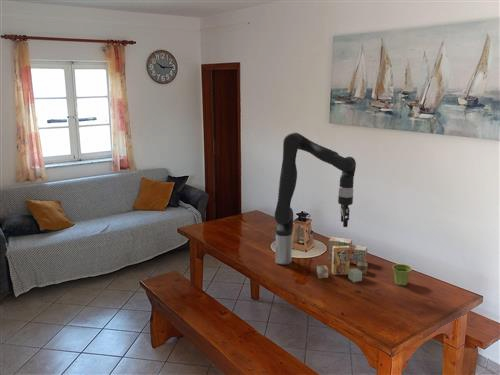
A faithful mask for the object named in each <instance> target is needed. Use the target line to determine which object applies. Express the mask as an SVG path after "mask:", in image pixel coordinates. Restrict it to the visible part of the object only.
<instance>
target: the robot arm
mask: <svg viewBox="0 0 500 375" xmlns="http://www.w3.org/2000/svg"><path fill="white" fill-rule="evenodd" d="M282 145H283V146H282V162H281V170H280V176H279V183H278V184H279V185H278V197H277V202H276V208H275V212H274V219H275V222H276V223H277V224H276V229H275V261H274V262H275V264H279V265H289V264H291V263H292V256H293V254H292V252H293V251H292V250H293V249H292V248H293V247H292V245H293V244H292V242H293V228H294V211H293V209H292V207H291V203H292V199H293V196H294V193H295V190H296V186H297V179H298V170H297V169H298V168H297V164H296V162H297V161H296V159H297V155H298V154H297V153H298V150H300V151H304V152H307V153H309V154H310V155H312V156H314V157H315V158H317V159H318V160H319V161H322V162H323V163H327V164H329V165H332V166H333V167H334V168H336V169H338V170H340V171H341V174H340V177H339V188H338V196H337V197H338V198H337V202H338V203H337V204H339V205H340V210H339V211H340V222H342V227H343V228H348V225H349V224H348V222H349V220H350V206H351V205H353V202H354V178H355V173H356V168H357V167H356V166H357V162H356V159H355V158H354V157H353V156H347V157H346V156H345V157H343V156H342V155H340V154H339V153H338V152H337V151H334V150H332V149H329V148H327V147H325V146H323V145H321V144H318V143H315V142H313V141H312V140H311V139H309V138H307V137H306V136H303V134H300V133H298V132H292V133H288V134H287V135H285V136H284V138H283V144H282Z"/></svg>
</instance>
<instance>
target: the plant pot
mask: <svg viewBox="0 0 500 375" xmlns="http://www.w3.org/2000/svg"><path fill="white" fill-rule="evenodd" d="M412 269H413V268H412V267H411V266H410V265H407V264H403V263H402V264H401V263H398V264H397V263H396V264H394V265H392V271H393V275H394V277H393V278H394V283H395V285H397V286H403V287H404V286H407V285H408V282H409V278H410V273H411V272H412Z"/></svg>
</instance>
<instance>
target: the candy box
mask: <svg viewBox="0 0 500 375" xmlns="http://www.w3.org/2000/svg"><path fill="white" fill-rule="evenodd" d="M349 262H350V248H349V246H333V249H332V260H331V273H332V275H334V276H336V275H341V276H342V275H349V270H350V263H349Z"/></svg>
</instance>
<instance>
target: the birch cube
mask: <svg viewBox="0 0 500 375" xmlns="http://www.w3.org/2000/svg"><path fill="white" fill-rule="evenodd" d="M316 276H317V278H318V279H329V268H328V266H327V265H316Z"/></svg>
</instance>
